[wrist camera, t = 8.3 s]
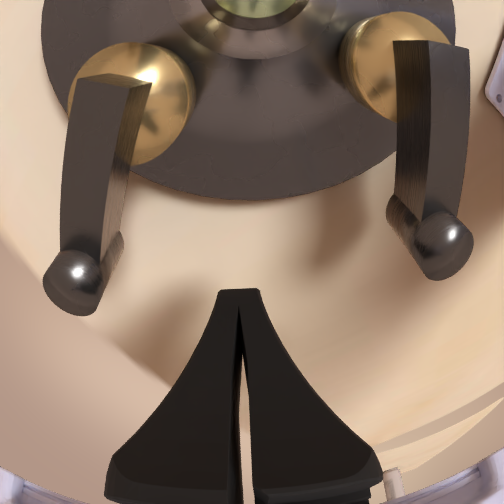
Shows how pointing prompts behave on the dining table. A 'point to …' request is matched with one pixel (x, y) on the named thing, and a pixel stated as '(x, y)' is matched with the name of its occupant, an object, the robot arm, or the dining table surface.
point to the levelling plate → (245, 86)
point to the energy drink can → (393, 484)
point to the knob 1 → (111, 159)
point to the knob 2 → (417, 128)
